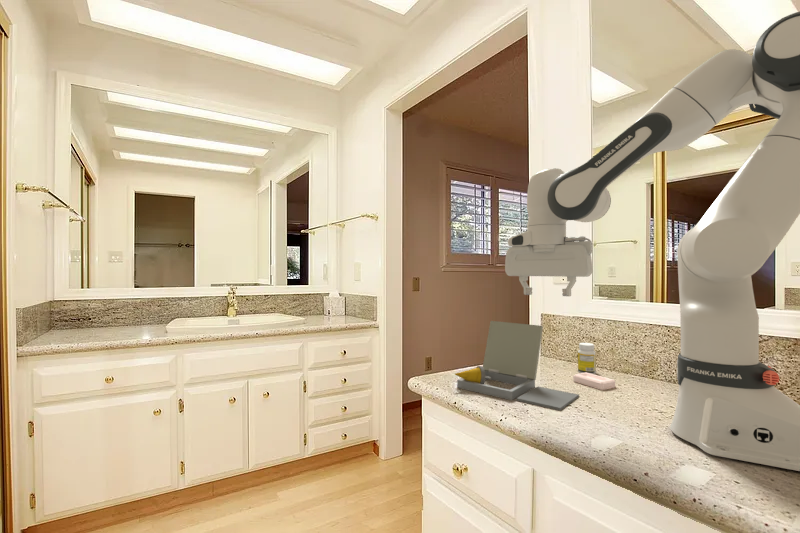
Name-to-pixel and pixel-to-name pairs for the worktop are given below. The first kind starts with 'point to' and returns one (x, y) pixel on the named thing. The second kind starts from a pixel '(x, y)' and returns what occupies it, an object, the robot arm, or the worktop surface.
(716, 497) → the worktop surface
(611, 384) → the soap bar
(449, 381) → the worktop surface
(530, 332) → the equipment case
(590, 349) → the supplement bottle
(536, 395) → the rubber mat
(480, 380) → the yellow cone
